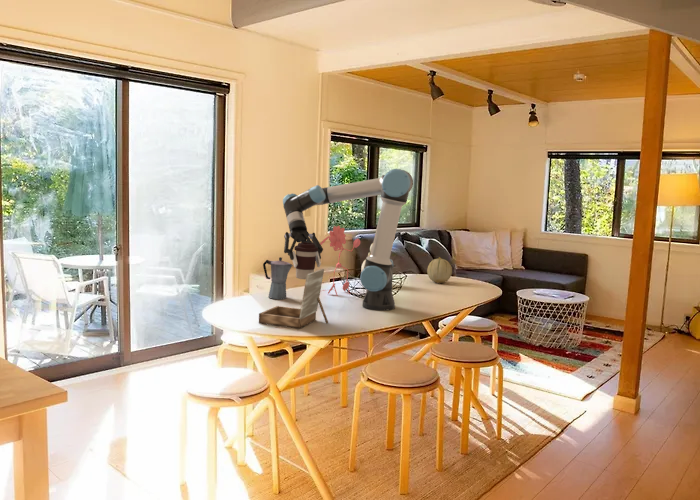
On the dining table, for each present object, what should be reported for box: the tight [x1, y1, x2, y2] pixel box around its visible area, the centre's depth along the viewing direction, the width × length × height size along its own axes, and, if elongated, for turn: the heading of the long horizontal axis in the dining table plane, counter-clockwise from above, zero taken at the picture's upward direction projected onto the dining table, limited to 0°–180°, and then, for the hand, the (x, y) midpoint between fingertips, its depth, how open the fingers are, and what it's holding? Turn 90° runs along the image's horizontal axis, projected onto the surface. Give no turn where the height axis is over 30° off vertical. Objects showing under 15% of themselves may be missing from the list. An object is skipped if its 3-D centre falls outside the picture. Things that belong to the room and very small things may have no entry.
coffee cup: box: [293, 242, 318, 280], centre depth 248 cm, size 10×10×15 cm
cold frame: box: [258, 268, 329, 330], centre depth 236 cm, size 24×16×22 cm, turn 71°
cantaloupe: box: [426, 256, 453, 284], centre depth 345 cm, size 15×15×15 cm
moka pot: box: [262, 257, 294, 300], centre depth 283 cm, size 10×15×20 cm, turn 78°
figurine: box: [319, 225, 361, 297], centre depth 301 cm, size 15×26×35 cm, turn 134°
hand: (307, 265), depth 246 cm, fingers closed on coffee cup, 10 cm apart
